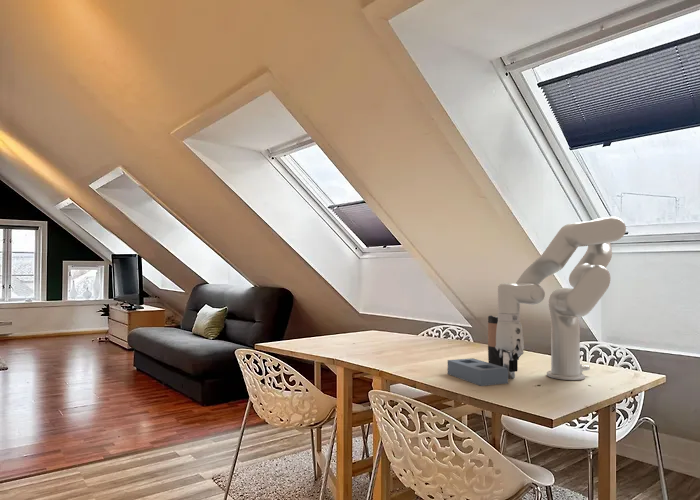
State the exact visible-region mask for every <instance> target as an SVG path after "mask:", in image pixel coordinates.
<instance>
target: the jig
mask: <svg viewBox="0 0 700 500" xmlns="http://www.w3.org/2000/svg"><path fill="white" fill-rule="evenodd" d="M447 375H450V376H451V377H455V378H458V379H461V380H463V381H466V382H470V383H472V384H475V385H478V386H479V387H484V386H494V385H503V384H509V379H508V368H505V367H502V366H498V365H495V364H491V363H488V362H487V361H484V360H480V359H477V358H476V359H475V358H472V357H471V358H460V359H459V358H458V359H447Z"/></svg>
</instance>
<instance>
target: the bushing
mask: <svg viewBox="0 0 700 500" xmlns="http://www.w3.org/2000/svg"><path fill="white" fill-rule="evenodd" d="M514 354H515V353H513V355H514ZM509 360H510V352H509V351H504V352H503V367H505V368H508V380H515V379H514V378H516V374H515V373H516V372H510V371H509Z"/></svg>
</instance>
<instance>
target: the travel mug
mask: <svg viewBox="0 0 700 500" xmlns="http://www.w3.org/2000/svg"><path fill="white" fill-rule="evenodd" d="M487 320H488V321H487V322H488V323H487V355H488V356H487V357H488V358H487V359H488V363H491V364H495V365H498V366H500V357H499V353H498V351H497V349H496V348H495V346H496V329H497V323H498V316H493V315H488V316H487Z"/></svg>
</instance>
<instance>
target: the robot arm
mask: <svg viewBox="0 0 700 500" xmlns="http://www.w3.org/2000/svg"><path fill="white" fill-rule="evenodd" d="M626 230H627V226H626V224H625V222H624V220H622V219H621V218H620V217H616V216H609V217H608V216H607V217H600V218H596V219H593V220H590V221H589V220H588V221H580V222H573V223H568V224H565V225H563V226H562V227H561V228H560V229H559V230H558V231H557V233H556V234H555V236H554V237H553V238H552V240H551V242H549V244H548V246H547V247H546V248H545V250H544V251H543V252H542V254H541V255H540V256H539V257H538V258H537V259H535V261H533V262H532V263H531V264H530V265H529V266H528V267H527V268H526V269H524V271H523V272H522V273H521V275H520V276H519V277H518V279H517V280H516V282H515V283H509V282H506V283H504V282H503V283H499V285H498V286H497V317H498V323H497V329H496V346H495V348H496V349H497V351H498V353H499V357H500V366H502V367H503V352H504V351H509V352H510V360H509V371H510V372H515V373H516V372H518V362H519V359H520V357H521V356H522V355H523V354H524V350H525V347H524V346H525V343H524V330H523V325H522V323H521V304H525V305H539V304H540V303H541V302H543V300H545V298H546V297H545V296H546V292H545V289H544V288H543V287H542V286H541V285H540V284H541V283H542V282H544V280H545V279H547V278H548V277H549V276H552V275H553V274H556V273H558V272H560V271H561V270H562V269H563V268H565V266H566V264H567V263H568V262H569V260H570V258H572V256H573V255H574V253H575V252H576V250H577V249H578V248H580V247H581V248H582V247H587V249H586V252H585V253H584V255H583V256H582V257H581V258H580V260H579V261H578V263H577V264H576V265H575V267H574V268H573V269H572V270H571V272H570V273H569V277H568V282H569V284H570V286H571V287H572V288H569V287H560V288H556V289H554V290H553V291H552V293H550V295H549V297H548V309H549V310H548V311H549V315H550V338H551V339H550V348H551V349H550V352H551V353H550V354H551V355H550V356H551V357H550V360H551V361H550V362H551V363H550V364H551V365H550V366H551V367H550V370H548V371H546V376H547V377H549V378H552V379H557V380H563V381H580V380H581V381H582V380H584V379H586V377H585V376H586V374H584V373H583V372H584V371H589V370H591V366H590V365H589V364H582V363H581V351H580V349H581V348H580V347H581V344H580V343H581V342H580V341H581V340H580V337H581V335H580V334H581V327H580V320H579V318H582V317H585V316H587V315H588V314H589V313H591V311H593V309H594V308H595V307H596V305H597V304H598V302H599V301H600V300H601V299H602V297H603V296H604V294H605V293H606V292H607V290H608V289H609V286H610V284H611V274H610V272H609V269H607V267H608V265H609V263H610V262H611V260H612V256H613V251H612V244H611V243H612V242H616V241H619V240H620V239H622V238H623V237H624V236H625V234H626ZM513 353H515V354H514V355H513Z"/></svg>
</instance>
